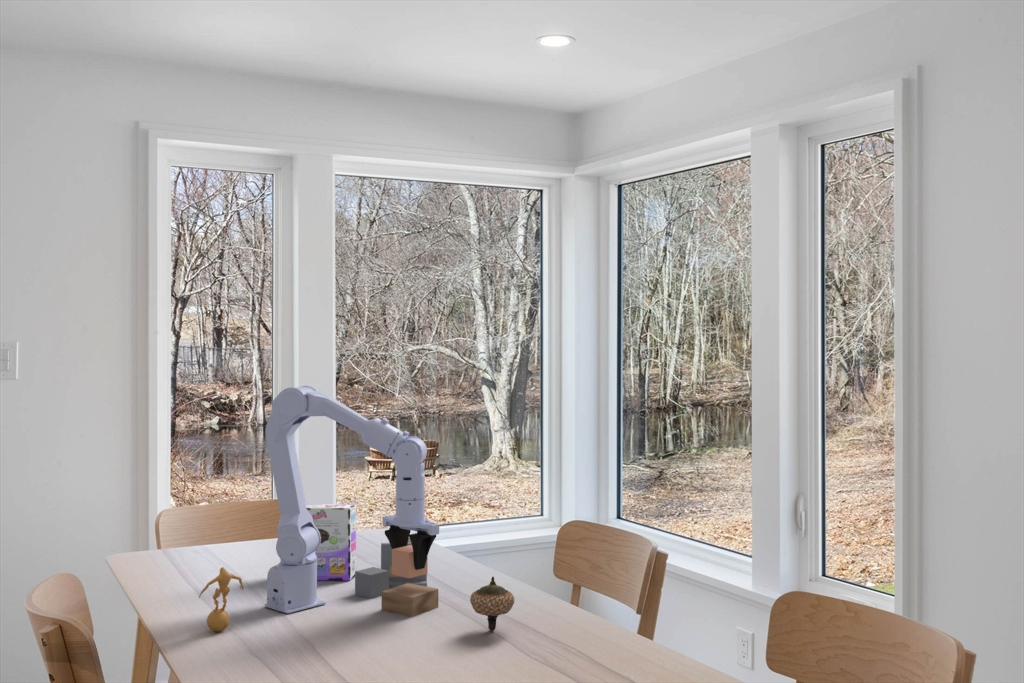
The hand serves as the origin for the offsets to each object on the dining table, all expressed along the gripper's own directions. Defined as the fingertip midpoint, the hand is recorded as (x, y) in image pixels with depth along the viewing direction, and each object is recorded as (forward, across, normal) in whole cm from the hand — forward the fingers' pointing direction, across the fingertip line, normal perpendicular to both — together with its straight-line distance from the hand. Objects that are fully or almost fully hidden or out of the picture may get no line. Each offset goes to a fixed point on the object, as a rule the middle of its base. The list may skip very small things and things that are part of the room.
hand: (410, 566), depth 178 cm
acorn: (+9, -22, 0) cm, 24 cm away
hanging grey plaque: (+8, +15, -12) cm, 21 cm away
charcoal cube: (+8, +14, -2) cm, 16 cm away
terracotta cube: (+2, 0, 0) cm, 2 cm away
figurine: (+9, +15, +33) cm, 37 cm away
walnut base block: (+9, 0, 0) cm, 9 cm away
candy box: (+9, +33, -4) cm, 34 cm away
